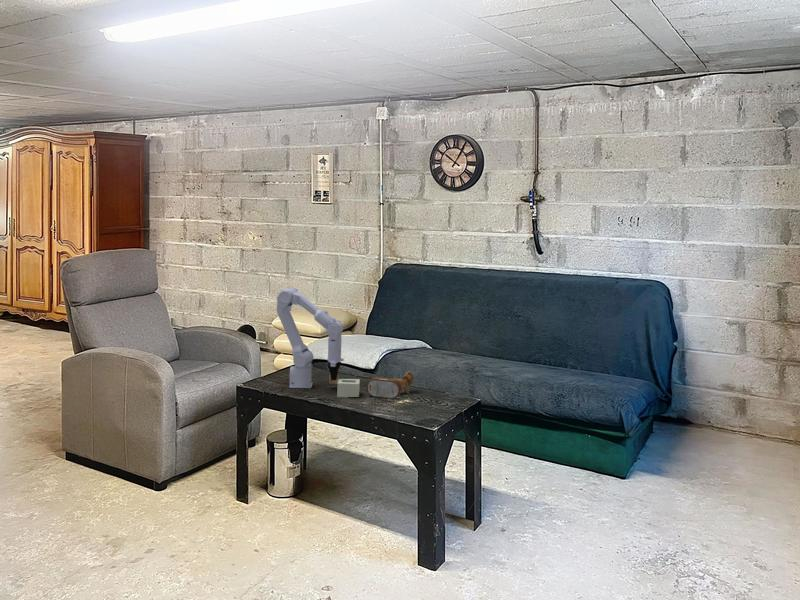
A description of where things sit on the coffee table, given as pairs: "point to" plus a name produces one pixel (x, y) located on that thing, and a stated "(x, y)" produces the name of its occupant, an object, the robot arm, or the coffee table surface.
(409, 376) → the lion figurine
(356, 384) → the box
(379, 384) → the tin
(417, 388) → the coffee table surface
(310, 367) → the robot arm
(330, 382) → the block
